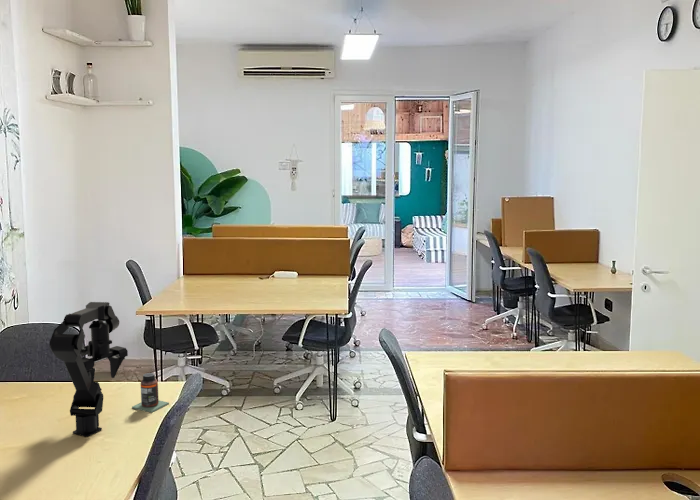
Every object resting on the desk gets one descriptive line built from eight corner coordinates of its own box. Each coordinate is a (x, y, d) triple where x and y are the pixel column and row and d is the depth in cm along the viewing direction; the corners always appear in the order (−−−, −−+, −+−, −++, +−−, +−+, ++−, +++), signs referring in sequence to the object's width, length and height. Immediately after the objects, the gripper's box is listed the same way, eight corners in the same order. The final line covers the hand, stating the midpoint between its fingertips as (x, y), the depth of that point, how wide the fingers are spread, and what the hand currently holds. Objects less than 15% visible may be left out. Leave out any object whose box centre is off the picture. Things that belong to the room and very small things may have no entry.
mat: (151, 412, 224) (151, 411, 224) (132, 408, 227) (131, 406, 227) (168, 404, 232) (168, 402, 232) (149, 399, 236) (149, 398, 235)
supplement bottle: (152, 400, 233) (151, 370, 232) (162, 404, 230) (161, 374, 228) (137, 405, 229) (136, 374, 227) (147, 409, 225) (146, 378, 224)
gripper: (105, 328, 229) (107, 369, 231) (60, 341, 212) (63, 385, 215) (128, 332, 223) (129, 375, 226) (83, 346, 207) (85, 392, 210)
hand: (102, 381), depth 219 cm, fingers open, 9 cm apart
